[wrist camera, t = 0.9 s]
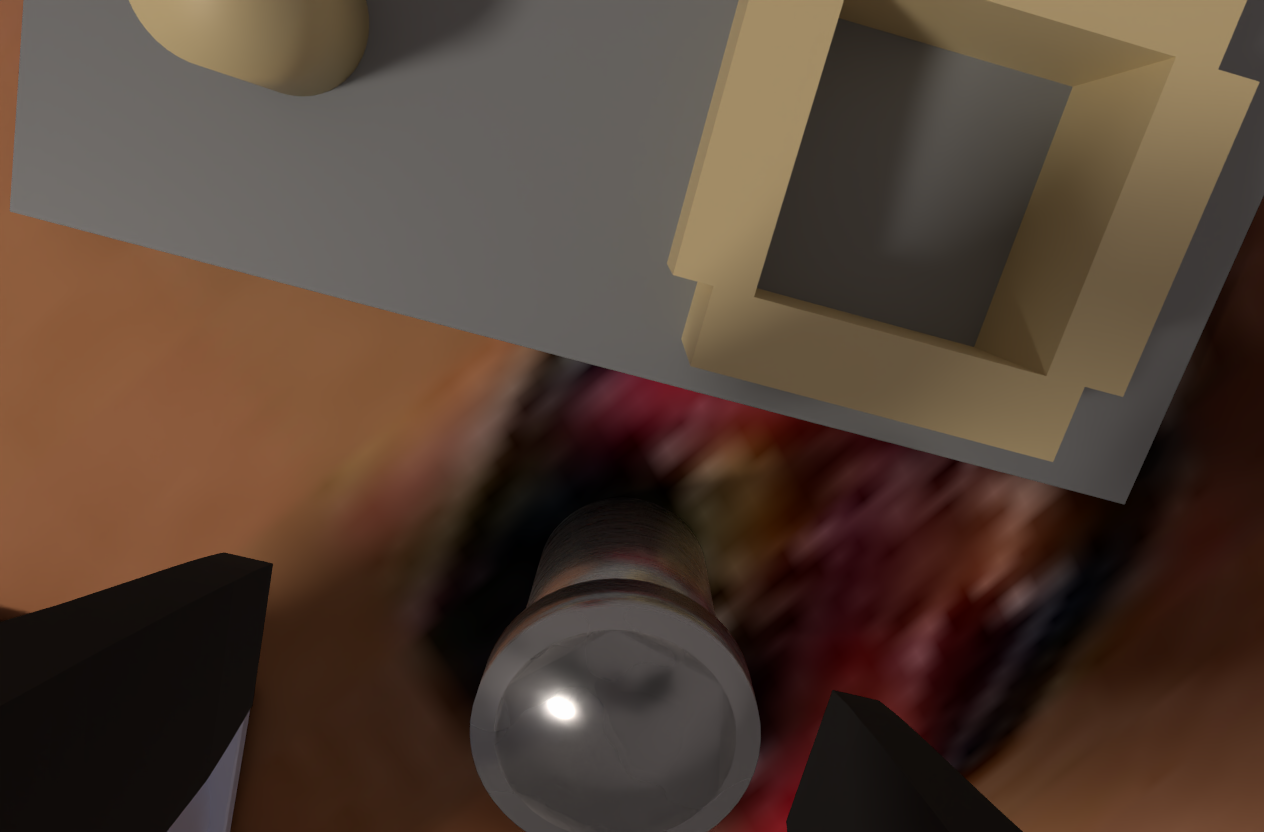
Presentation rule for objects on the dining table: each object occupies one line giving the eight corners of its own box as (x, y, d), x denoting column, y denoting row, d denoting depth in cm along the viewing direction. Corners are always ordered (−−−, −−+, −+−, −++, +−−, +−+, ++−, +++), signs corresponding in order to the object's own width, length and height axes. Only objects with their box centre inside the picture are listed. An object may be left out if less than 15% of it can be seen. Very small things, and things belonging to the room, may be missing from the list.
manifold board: (1098, 488, 18) (1223, 563, 14) (45, 211, 17) (-133, 211, 13) (1299, 30, 16) (1517, -30, 12) (87, -338, 14) (-116, -541, 10)
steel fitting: (691, 685, 20) (713, 885, 14) (502, 639, 19) (443, 824, 13) (748, 510, 18) (799, 647, 13) (547, 459, 18) (505, 575, 12)
